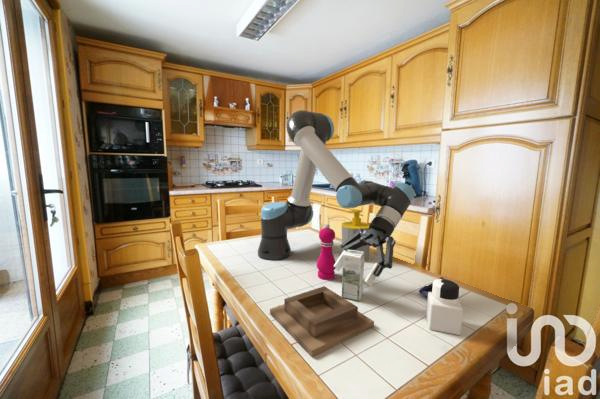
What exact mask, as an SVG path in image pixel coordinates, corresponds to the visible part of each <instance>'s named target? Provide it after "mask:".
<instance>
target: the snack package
mask: <svg viewBox="0 0 600 399" xmlns="http://www.w3.org/2000/svg"><path fill="white" fill-rule="evenodd" d="M438 279H445V278H444V277H439V278H438ZM432 287H433V282H432V283H430V284H428V285H424V286H423V287H421V288H419V290H418V293H419V294H420V295H424V297H426V298H428V292H432Z"/></svg>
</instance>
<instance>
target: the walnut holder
mask: <svg viewBox="0 0 600 399" xmlns="http://www.w3.org/2000/svg"><path fill="white" fill-rule="evenodd" d="M283 300H284V303H283V304H280V305H278V306H274V307H272V308H270V309H269V314H270V316H271V317H272V318H273V319H274V320H275V321H276V322H277V323H278V324H279V325H280V326H281V327H282V328H283V329H284V330H285V331H286V332H287V333H288V334H289V335H290V336H291V337H292V338H293V340H294V341H295V342H297V343H298V345H299V346H301V348H302V349H303V350H304V351H305V352H306V353H307V354H308V355H309V356H310V357H311V358H312V357H315V356H317V355H319V354H321V353H323V352H325V351H327V350H330V349H331V348H333V347H335V346H338V345H339V344H341V343H343V342H345V341H347V340H350V339H351V338H354V337H356V336H357V335H360V334H362V333H364V332H366V331H368V330H370V329H372V328H374V327H375V321H374V320H372V319H371V318H369V317H368V316H367V315H365V314H363V313H361V312H360V311H359V308H358V306H357V305H355V304H354V303H352V302H351V301H349V300H347V298H343V297H342V295H339V294H337V293H336V292H334V291H333V290H332V289H329V288H328V287H326V285H325V286H320V287H317V288H314V289H311V290H308V291H305V292H302V293H299V294H296V295H292V296H290V297H286V298H284V299H283Z"/></svg>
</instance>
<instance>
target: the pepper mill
mask: <svg viewBox="0 0 600 399" xmlns="http://www.w3.org/2000/svg"><path fill="white" fill-rule="evenodd" d="M335 238H336V233H335V230H333V229H332V228H330V224H328V223H327V224H325V225H324V227H323V228H321V229H320V231H318V239H319V240H320V241H319V245H320V248H321V250H320V254H319V256H318V259H317V261H316V268H317V269H318V270H317V278H319V279H321V280H325V281H326V280H327V281H329V280H333V279H334V278H335V274H336V272H335V270H337V269H336V268H335V267H334V264H335V263H336V261H337V260H336V259H335V257H334V254H333V246H334V243H335V242H334V240H335Z"/></svg>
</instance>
